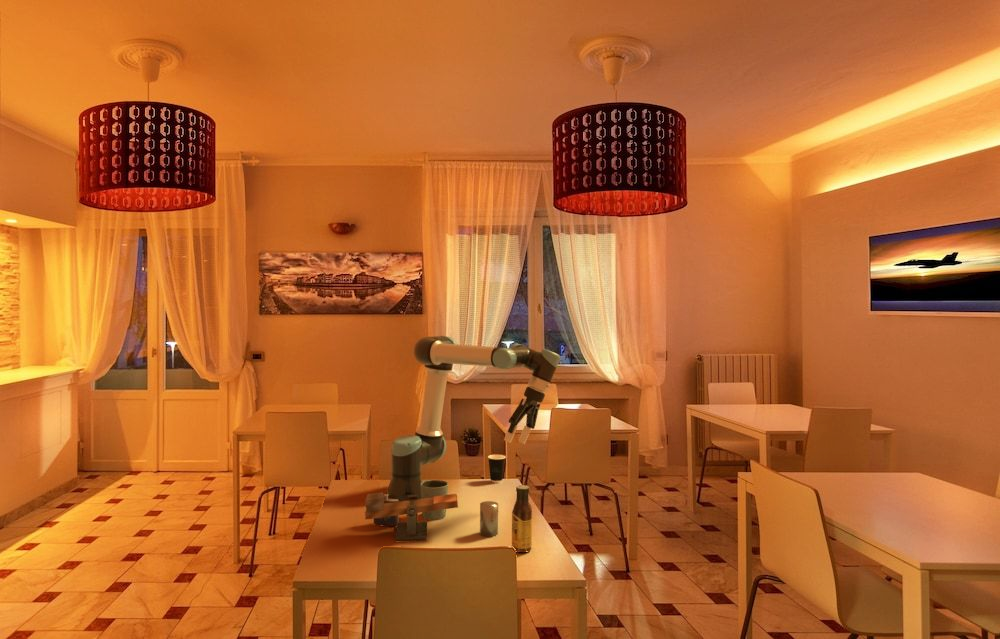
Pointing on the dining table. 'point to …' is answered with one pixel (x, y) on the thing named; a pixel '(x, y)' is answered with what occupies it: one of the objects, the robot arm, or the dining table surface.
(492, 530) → the glass jar
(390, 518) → the flask
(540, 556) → the dining table surface
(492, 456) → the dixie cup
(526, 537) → the sauce bottle
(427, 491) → the grey cylindrical container
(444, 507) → the beam
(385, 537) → the dining table surface
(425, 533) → the beam stand
